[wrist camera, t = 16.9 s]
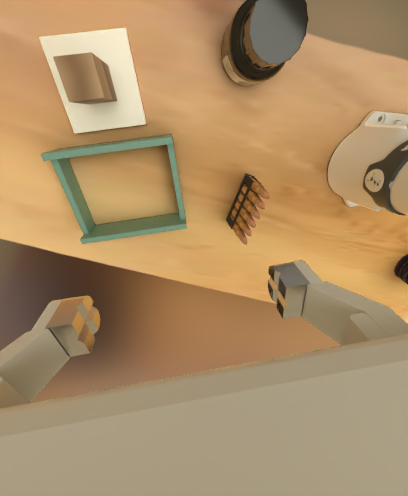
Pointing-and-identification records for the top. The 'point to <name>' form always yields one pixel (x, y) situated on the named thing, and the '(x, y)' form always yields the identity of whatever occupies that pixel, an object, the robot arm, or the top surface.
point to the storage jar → (402, 269)
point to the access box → (123, 227)
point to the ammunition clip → (246, 207)
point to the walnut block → (85, 78)
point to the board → (122, 73)
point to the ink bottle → (262, 39)
